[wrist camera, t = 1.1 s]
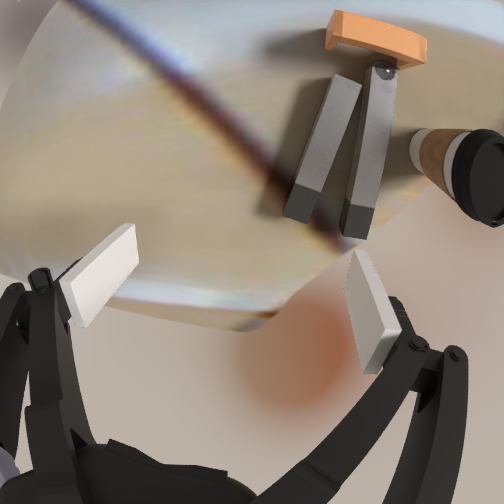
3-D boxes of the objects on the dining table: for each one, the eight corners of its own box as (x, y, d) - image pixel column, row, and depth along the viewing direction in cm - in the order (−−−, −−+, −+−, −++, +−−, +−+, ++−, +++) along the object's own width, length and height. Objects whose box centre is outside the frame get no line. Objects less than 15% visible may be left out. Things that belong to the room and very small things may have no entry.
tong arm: (331, 77, 26) (335, 73, 23) (355, 87, 26) (362, 85, 24) (282, 206, 34) (282, 215, 32) (305, 214, 34) (307, 224, 32)
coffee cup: (398, 181, 31) (459, 229, 18) (400, 114, 27) (470, 123, 14) (450, 185, 30) (519, 232, 17) (454, 123, 26) (533, 143, 13)
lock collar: (326, 27, 23) (335, 9, 17) (403, 48, 23) (427, 38, 17) (324, 49, 25) (333, 34, 19) (402, 69, 24) (426, 62, 18)
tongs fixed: (366, 61, 25) (373, 56, 22) (389, 68, 24) (399, 64, 22) (338, 225, 35) (343, 235, 32) (360, 229, 35) (366, 239, 32)
